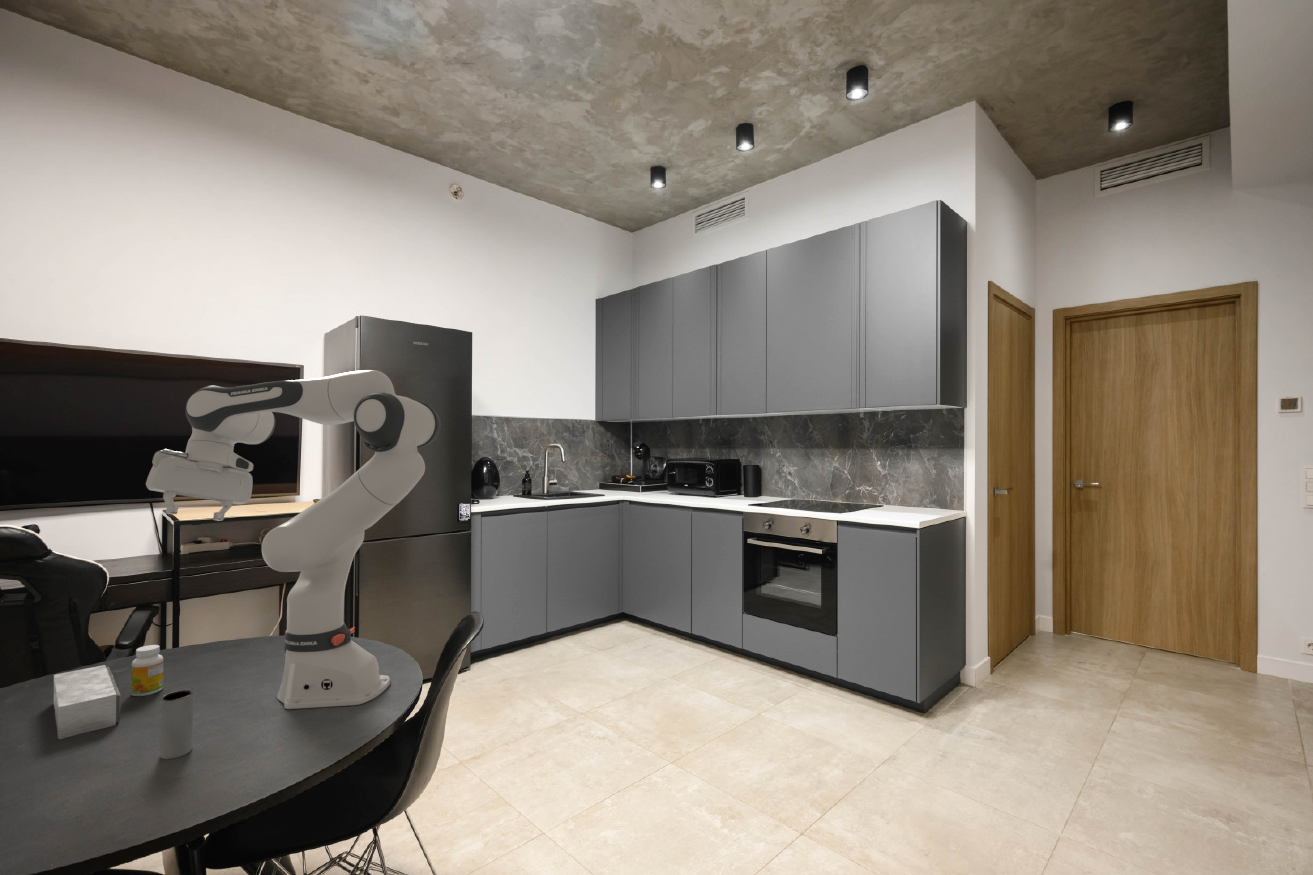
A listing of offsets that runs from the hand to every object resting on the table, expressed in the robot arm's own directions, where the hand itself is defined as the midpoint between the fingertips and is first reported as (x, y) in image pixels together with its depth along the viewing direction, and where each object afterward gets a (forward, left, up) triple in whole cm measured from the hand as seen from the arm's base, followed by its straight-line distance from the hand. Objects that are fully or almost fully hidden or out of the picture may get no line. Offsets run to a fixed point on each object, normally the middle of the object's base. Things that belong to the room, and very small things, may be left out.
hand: (195, 517), depth 136 cm
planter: (-19, +27, -39) cm, 51 cm away
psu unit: (+12, +13, -38) cm, 42 cm away
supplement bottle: (+8, +2, -39) cm, 40 cm away
